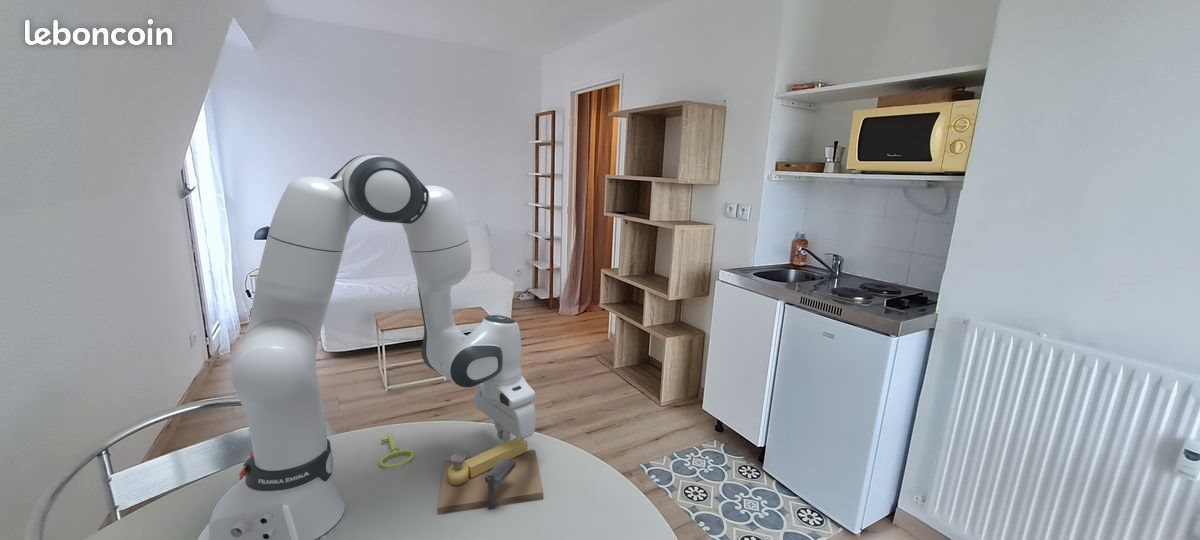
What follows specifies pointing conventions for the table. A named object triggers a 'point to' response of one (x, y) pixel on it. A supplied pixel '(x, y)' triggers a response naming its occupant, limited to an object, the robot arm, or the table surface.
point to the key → (394, 453)
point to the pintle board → (492, 484)
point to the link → (486, 460)
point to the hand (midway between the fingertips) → (503, 438)
